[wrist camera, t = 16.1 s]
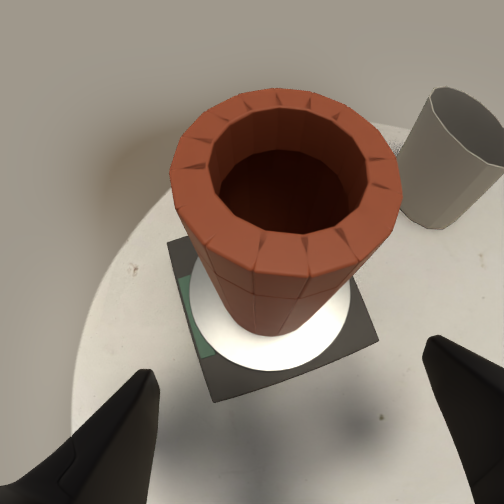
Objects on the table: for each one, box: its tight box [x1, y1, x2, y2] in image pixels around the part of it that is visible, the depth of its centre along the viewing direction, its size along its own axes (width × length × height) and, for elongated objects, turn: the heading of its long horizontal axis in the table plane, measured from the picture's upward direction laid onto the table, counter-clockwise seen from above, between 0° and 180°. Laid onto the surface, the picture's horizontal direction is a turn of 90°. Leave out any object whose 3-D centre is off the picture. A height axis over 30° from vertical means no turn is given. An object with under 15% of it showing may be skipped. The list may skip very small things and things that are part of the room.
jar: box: [169, 88, 403, 337], centre depth 13 cm, size 6×6×12 cm
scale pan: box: [189, 256, 351, 372], centre depth 19 cm, size 10×10×1 cm
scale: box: [167, 236, 379, 403], centre depth 21 cm, size 12×12×3 cm
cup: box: [396, 86, 504, 229], centre depth 21 cm, size 8×8×10 cm
